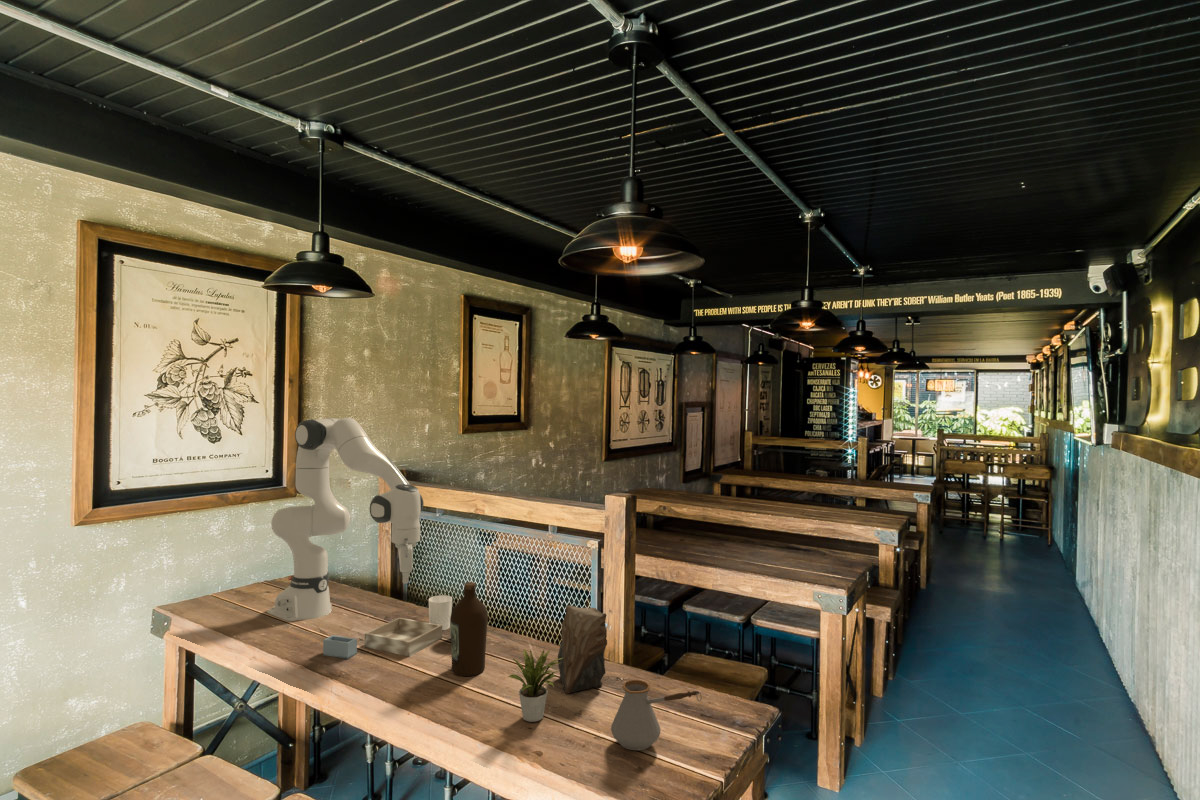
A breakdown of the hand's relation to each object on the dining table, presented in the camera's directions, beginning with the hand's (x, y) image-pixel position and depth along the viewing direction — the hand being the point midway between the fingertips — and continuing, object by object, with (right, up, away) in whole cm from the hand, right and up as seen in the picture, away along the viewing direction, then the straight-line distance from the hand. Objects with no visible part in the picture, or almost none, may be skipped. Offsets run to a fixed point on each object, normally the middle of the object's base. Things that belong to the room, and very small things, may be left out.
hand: (405, 578), depth 200 cm
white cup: (+8, -21, +14) cm, 26 cm away
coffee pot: (+75, -22, -58) cm, 98 cm away
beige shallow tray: (0, -21, 0) cm, 21 cm away
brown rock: (+58, -22, -26) cm, 67 cm away
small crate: (-16, -20, -11) cm, 28 cm away
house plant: (+46, -21, -47) cm, 69 cm away
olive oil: (+24, -21, -19) cm, 37 cm away
